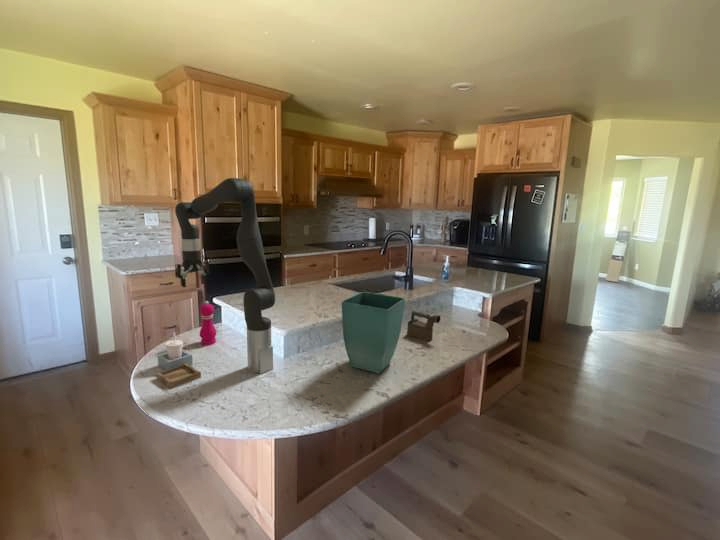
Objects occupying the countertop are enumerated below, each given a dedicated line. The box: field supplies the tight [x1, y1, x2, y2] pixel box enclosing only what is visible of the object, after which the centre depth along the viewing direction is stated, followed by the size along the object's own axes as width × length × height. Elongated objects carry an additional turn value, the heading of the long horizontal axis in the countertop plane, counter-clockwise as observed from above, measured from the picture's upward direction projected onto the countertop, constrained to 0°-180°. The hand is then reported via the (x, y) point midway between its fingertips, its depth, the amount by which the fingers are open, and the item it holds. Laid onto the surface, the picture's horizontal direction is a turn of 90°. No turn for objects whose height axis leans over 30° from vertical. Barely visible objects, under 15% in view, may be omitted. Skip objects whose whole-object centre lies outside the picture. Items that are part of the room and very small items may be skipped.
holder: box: [157, 348, 194, 371], centre depth 149 cm, size 9×9×4 cm
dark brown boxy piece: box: [406, 310, 441, 341], centre depth 188 cm, size 8×16×13 cm, turn 46°
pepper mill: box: [199, 300, 218, 346], centre depth 170 cm, size 7×7×20 cm
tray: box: [156, 364, 202, 389], centre depth 139 cm, size 11×11×2 cm
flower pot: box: [341, 291, 406, 374], centre depth 154 cm, size 20×20×28 cm
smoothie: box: [164, 331, 184, 361], centre depth 148 cm, size 6×6×14 cm
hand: (193, 285), depth 165 cm, fingers open, 8 cm apart
